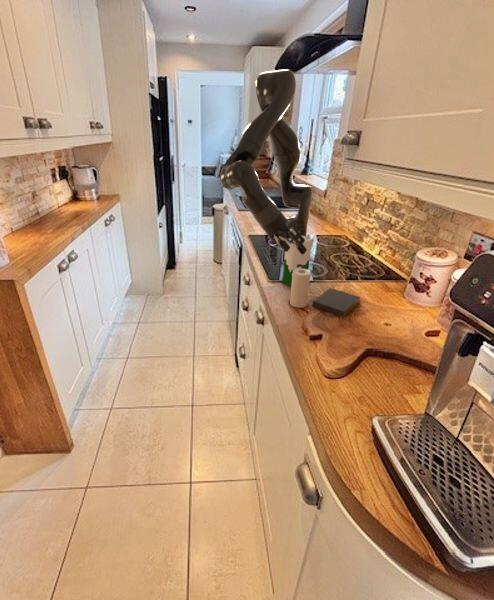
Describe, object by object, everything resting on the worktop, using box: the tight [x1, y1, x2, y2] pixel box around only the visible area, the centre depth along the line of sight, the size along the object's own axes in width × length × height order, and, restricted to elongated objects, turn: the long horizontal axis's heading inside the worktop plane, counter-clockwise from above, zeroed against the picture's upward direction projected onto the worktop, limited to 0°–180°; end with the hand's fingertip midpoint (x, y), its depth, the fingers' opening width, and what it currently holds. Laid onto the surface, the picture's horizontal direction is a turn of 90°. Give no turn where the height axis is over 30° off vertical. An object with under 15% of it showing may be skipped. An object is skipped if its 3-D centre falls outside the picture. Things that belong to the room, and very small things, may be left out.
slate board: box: [311, 287, 361, 318], centre depth 111 cm, size 13×11×2 cm
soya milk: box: [281, 231, 315, 287], centre depth 122 cm, size 9×9×20 cm
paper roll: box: [289, 268, 312, 309], centre depth 109 cm, size 6×6×12 cm
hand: (295, 251), depth 110 cm, fingers open, 8 cm apart
